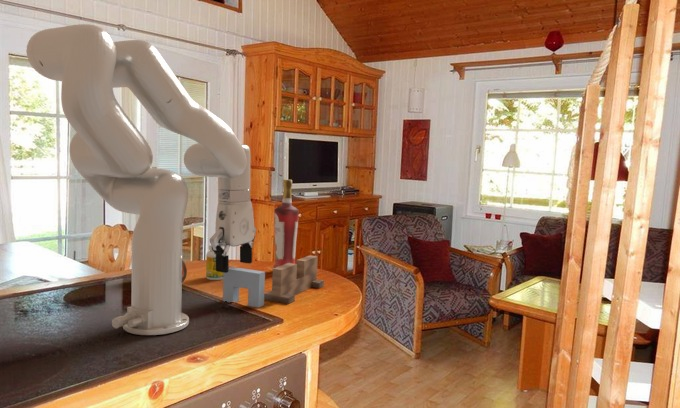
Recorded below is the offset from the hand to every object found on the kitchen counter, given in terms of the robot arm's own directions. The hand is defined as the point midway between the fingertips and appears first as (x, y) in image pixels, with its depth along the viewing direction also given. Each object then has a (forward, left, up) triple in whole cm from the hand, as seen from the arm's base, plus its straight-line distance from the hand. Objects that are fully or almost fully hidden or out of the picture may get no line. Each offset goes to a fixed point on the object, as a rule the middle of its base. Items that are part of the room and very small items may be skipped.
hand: (234, 267), depth 122 cm
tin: (+2, +25, -8) cm, 26 cm away
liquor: (+33, +5, -8) cm, 34 cm away
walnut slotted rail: (+14, -9, -8) cm, 19 cm away
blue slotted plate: (-1, -3, -8) cm, 9 cm away
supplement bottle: (+15, +17, -8) cm, 24 cm away
